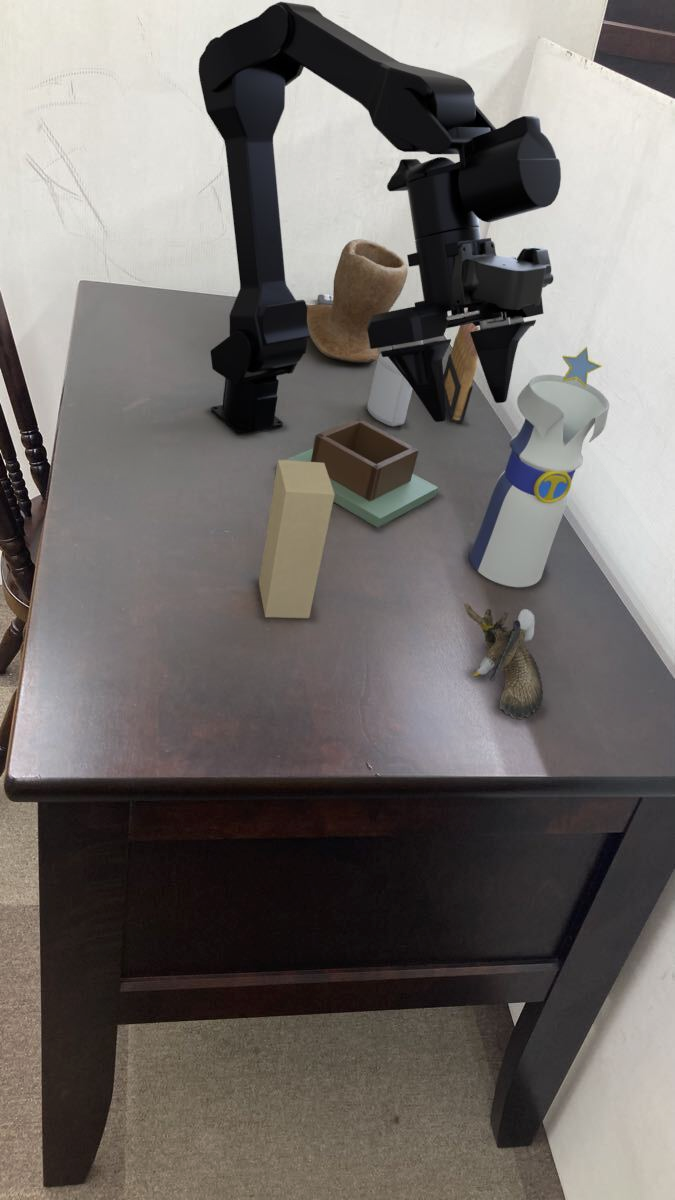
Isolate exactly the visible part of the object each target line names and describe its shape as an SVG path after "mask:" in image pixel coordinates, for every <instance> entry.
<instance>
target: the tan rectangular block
mask: <svg viewBox="0 0 675 1200" xmlns="http://www.w3.org/2000/svg"><path fill="white" fill-rule="evenodd" d="M334 495H335V494H334V491H333V488H332V485H331V482H330V479H329V476H328V473H327V470H326V467H325V464H324V463H319V462H304V461H290V460H285V459H278V460H277V463H276V471H275V476H274V483H273V489H272V496H271V502H270V509H269V513H268V514H269V516H268V521H267V527H266V533H265V540H264V548H263V553H262V561H261V565H260V571H259V572H260V573H259V579H258V587H259V592H260V597H261V602H262V603H261V604H262V608H263V613H264V617H265V618H277V619H278V618H281V619H310V618H311V612H312V608H313V607H312V606H313V601H314V596H315V592H316V587H317V583H318V578H319V574H320V573H319V572H320V568H321V563H322V558H323V553H324V548H325V543H326V540H327V539H326V538H327V535H328V534H327V533H328V528H329V525H330V519H331V514H332V510H333V504H334V502H333V500H334Z"/></svg>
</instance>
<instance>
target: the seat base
mask: <svg viewBox="0 0 675 1200" xmlns="http://www.w3.org/2000/svg"><path fill="white" fill-rule="evenodd" d="M418 454H419V448H416V447H414V446H413V445H410V444H409V443H408V442H405V441H403V440H401V439H399V438H398V437H395V436H393V435H392V434H389V433H388V432H386V431H384V430H382V429H380V428H378V427H377V426H374V425H373V424H371V423H369V422H367V421H365V420H363V419H362V418H360V417H358V418H355V419H352V420H350V421H347V422H345V423H342V424H339V425H337V426H334V427H332V428H330V429H327V430H324V431H322V432H320V433H316V434H315V437H314V443H313V447H312V448H310V449H307V450H304V451H302V452H300V453H298V454H295V455H293V456H290V457H288V458H285V459H284V460H290V461H304V462H319V463H324V464H325V467H326V470H327V473H328V476H329V479H330V482H331V485H332V488H333V491H334V494H335V495H334V500H333V503H335V504H337V505H338V506H340V507H342V508H343V509H345V510H347V511H348V512H350V513H352V514H354V515H355V516H357V517H359V518H360V519H362V520H363V521H366V522H367V523H368V524H371V525H372V526H373V527H375V528H377V529H379V528H380V527H382V526H384V525H386V524H388V523H390V522H391V521H393V520H395V519H397V518H399V517H401V516H402V515H404V514H406V513H408V512H410V511H412V510H413V509H416V508H417V507H420V506H421V505H423V504H424V503H426V502H428V501H430V500H432V499H433V498H435V497H437V493H438V490H439V487H438V486H436V485H434V484H433V483H431V482H429V481H427V480H425V479H423V478H421V477H420V476H418V475H416V474H414V470H415V466H416V462H417V458H418Z"/></svg>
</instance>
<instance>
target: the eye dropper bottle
mask: <svg viewBox="0 0 675 1200" xmlns="http://www.w3.org/2000/svg"><path fill="white" fill-rule="evenodd" d="M390 349H392V346H390ZM413 391H414V390H413V389H412V387H411V386H410V384H409V383H408V381H407V380H406V379H405V378H404V376H403V375H402V374H401V373H400V371H399V370H398V369H397V368H396V366H395V365H394V364H393V363H392V361H391V360H390V359H389V358H388V357H382V355H381V353H380V354H379V355H378V358H377V359H376V364H375V368H374V373H373V377H372V382H371V387H370V391H369V395H368V401H367V406H366V409H367V411H368V413H369V414H370V415H371V416H372V417H373V418H374V419H375V420H377V421H378V422H380V423H382V424H384V425H386V426H389V427H397V426H403V425H405V422H406V418H407V414H408V410H409V406H410V401H411V398H412V393H413Z"/></svg>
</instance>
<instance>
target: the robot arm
mask: <svg viewBox="0 0 675 1200" xmlns="http://www.w3.org/2000/svg"><path fill="white" fill-rule="evenodd" d="M304 68H305V69H307V70H308V71H310V72H312V73H313V74H314V75H316V76H317V77H319V78H321V79H322V80H324V81H325V82H327V83H328V84H330V85H331V86H333V87H334V88H336V89H338V90H339V91H341V93H344V94H345V95H346V96H348V97H350V98H351V99H353V100H355V101H356V102H358V103H359V104H360V105H361V106H362V107H363V108H364V109H365V110H366V111H367V112H368V114H369V117H370V120H371V124H372V126H373V127H374V128H376V130H377V131H378V132H379V133H380V134H381V135H382V136H383V137H384V138H385V139H386V140H387V141H388V142H389V143H390V144H391V145H392V146H393V147H394V148H395V149H397V150H398V151H400V152H403V153H426V154H428V155H458V158H459V161H457V162H454V160H452V159H450V158H448V157H445V156H438V157H435V158H432V159H430V160H429V159H428V160H427V161H424V162H421V160H419V159H418V158H402V159H401V160H400V161H399V164H398V167H397V169H396V170H395V172H394V173H393V174H392V176H391V177H390V179H389V180H388V182H387V184H386V189H387V191H388V192H404V191H405V192H406V191H407V196H408V202H409V203H408V204H409V209H410V210H409V211H410V216H411V222H412V230H413V235H414V243H415V249H416V252H413V253H409V254H407V255H406V256H407V263H408V264H407V265H408V267H417V266H418V269H419V276H420V285H421V289H422V290H421V291H422V296H423V300H421V301H415V302H414V306H409V307H406V308H405V307H404V308H400V309H396V310H389V312H385V313H380V314H375V315H372V317H371V319H370V322H369V324H368V326H367V331H368V337H369V343H370V349H374V348H378V349H380V348H385V347H386V348H387V347H391V346H392V349H391V348H390V349H386V350H382V351H380V354H381V355H382V357H388V358H389V359H390V360H391V361H392V363H393V364H394V365H395V366H396V368H397V369H398V370H399V371H400V373H401V374H402V375H403V376H404V378H405V379H406V380H407V381H408V383H409V384H410V386H411V387H412V389H413V390H412V391H413V392H414V393H415V394H416V396H417V398H418V399H419V401H420V402H421V404H422V405H423V407H424V408H425V409H426V411H427V413H428V414H429V415H430V417H431V418H432V420H433V421H434V422H435V423H442V422H445V421H446V420H447V411H446V398H445V387H444V376H443V375H444V365H443V359H444V357H445V355H446V352H447V351H448V348H449V346H450V345H451V342H452V338H449V339H443V340H440V337H443V336H445V333H446V331H447V329H450V328H456V327H460V326H461V325H465V324H470V323H473V324H474V325H475V326H477V327H479V330H476V331H471V332H470V334H471V337H472V340H473V343H474V346H475V349H476V352H477V354H478V360H479V363H480V365H481V370H482V371H483V375H484V377H485V380H486V384H487V387H488V389H489V391H490V393H491V396H492V398H493V400H494V402H495V403H496V404H502V403H505V402H507V400H508V395H509V390H510V384H511V380H512V379H511V378H512V372H513V369H514V368H513V367H514V362H515V358H516V353H517V349H518V345H519V343H520V340H521V339H522V338H523V336H524V335H525V334H526V333H527V331H528V330H529V329H530V328H531V327H534V325H535V324H536V322H537V319H533V320H532V319H531V320H526V321H525V318H530V317H536V316H539V315H543V314H544V313H545V312H544V305H543V297H542V294H543V289H544V288H546V287H547V286H549V285H552V284H553V282H554V274H552V263H551V260H550V254H549V250H548V249H547V248H541V247H537V246H532V247H524V248H522V249H521V251H520V252H519V254H518V256H517V257H516V256H509V257H504V256H499V255H497V252H496V245H495V242H494V241H492V238H491V237H487V238H486V237H485V238H482V237H481V229H480V221H481V222H485V223H494V222H497V221H500V220H504V219H508V218H511V217H515V216H518V215H521V214H525V213H529V212H532V211H537V210H541V209H543V208H547V207H549V206H551V205H553V203H554V202H555V201H556V199H557V197H558V195H559V192H560V188H561V182H562V181H561V180H562V168H561V161H560V160H559V158H557V154H556V152H555V149H554V147H553V144H552V143H551V142H550V140H549V138H548V137H547V136H546V135H545V134H544V133H543V132H542V128H541V119H540V117H538V116H535V115H534V116H530V115H522V116H520V117H518V118H515V119H512V120H511V121H509V122H508V123H506V124H505V125H503V126H500V127H498V128H496V127H495V125H494V124H493V123H492V122H491V121H490V120H489V118H488V117H487V116H486V115H485V114H484V113H483V111H482V110H481V109H480V107H478V105H477V104H476V100H475V95H476V94H475V91H474V89H473V87H472V86H471V85H470V84H469V83H468V81H466V80H465V79H463V78H460V77H458V76H454V75H450V74H448V73H444V72H441V71H436V70H433V69H428V68H424V67H419V66H415V65H411V64H407V63H403V62H400V61H399V60H397V59H395V58H394V57H392V56H390V55H388V54H387V53H385V52H384V51H381V50H380V49H379V48H377V47H375V46H373V45H372V44H370V43H369V42H367V41H365V40H364V39H362V38H360V37H359V36H357V35H355V34H353V33H352V32H351V31H349V30H347V29H345V28H343V27H342V26H340V25H339V24H337V23H336V22H334V21H332V20H330V19H329V18H327V17H326V16H324V15H323V14H322V12H320V11H319V10H318V9H317V8H316V7H314V6H312V5H308V4H301V3H294V2H288V1H287V2H286V1H278V2H276V3H275V4H272V5H270V6H268V7H267V8H265V10H264V11H263V12H262V13H260V15H258V16H256V17H253V18H252V19H250V20H248V21H245V22H243V23H241V24H239V25H237V26H235V27H232V28H230V29H228V30H226V31H224V32H223V33H222V34H221V35H220V36H215V37H214V38H212V39H210V40H209V42H208V43H207V44H206V46H205V49H204V51H203V52H202V54H201V55H200V57H199V61H198V77H199V83H200V87H201V92H202V97H203V102H204V106H205V111H206V114H207V115H208V117H209V118H210V120H211V122H212V123H213V125H214V127H215V128H216V130H217V131H218V133H219V134H220V136H221V138H222V139H223V142H224V147H225V156H226V162H227V163H226V164H227V165H226V167H227V173H228V183H229V184H228V185H229V193H230V203H231V211H232V213H231V214H232V222H233V230H234V239H235V250H236V258H237V268H238V277H239V290H238V292H237V295H236V297H235V300H234V303H233V305H232V308H231V310H230V312H229V336H228V337H226V338H224V340H222V341H221V342H220V343H219V344H217V345H215V346H214V347H213V348H212V349H211V350H210V360H211V369H212V370H213V371H214V372H216V373H217V374H218V375H220V376H222V377H223V378H224V387H223V395H222V396H223V397H222V404H219V405H213V406H211V409H210V411H211V413H212V414H213V415H215V417H217V418H218V419H219V420H220V421H222V423H224V424H225V425H226V426H227V427H228V428H229V429H230V430H232V431H233V432H234V433H235V434H237V435H246V434H247V435H248V434H252V433H257V432H262V431H269V430H273V429H279V428H283V425H284V422H283V420H281V419H279V417H277V416H276V410H277V405H278V404H277V403H278V398H279V396H278V389H279V384H280V383H279V382H280V380H279V379H278V376H282V375H286V374H287V375H290V374H293V373H294V371H295V368H296V367H297V364H298V362H300V361H301V359H302V358H303V356H304V355H305V354H306V353H307V349H308V339H311V335H310V332H309V329H308V324H307V306H308V305H307V303H306V301H305V299H299V300H298V299H296V298H295V296H294V295H293V293H292V291H291V290H290V288H289V286H288V285H287V282H286V281H287V280H286V272H285V262H284V251H283V250H284V249H283V239H282V228H281V215H280V205H279V203H280V202H279V193H278V181H277V169H276V159H275V148H274V136H275V133H276V131H277V129H278V126H279V123H280V121H281V118H282V116H283V113H284V111H285V106H286V87H287V86H288V85H290V83H292V82H293V81H295V80H296V79H297V78H299V77H300V76H301V75H302V73H303V70H304ZM479 220H480V221H479ZM466 309H468V312H466V311H465V310H466ZM448 312H450V313H451V315H449V313H448ZM465 312H466V313H465ZM465 316H466V317H465Z"/></svg>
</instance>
